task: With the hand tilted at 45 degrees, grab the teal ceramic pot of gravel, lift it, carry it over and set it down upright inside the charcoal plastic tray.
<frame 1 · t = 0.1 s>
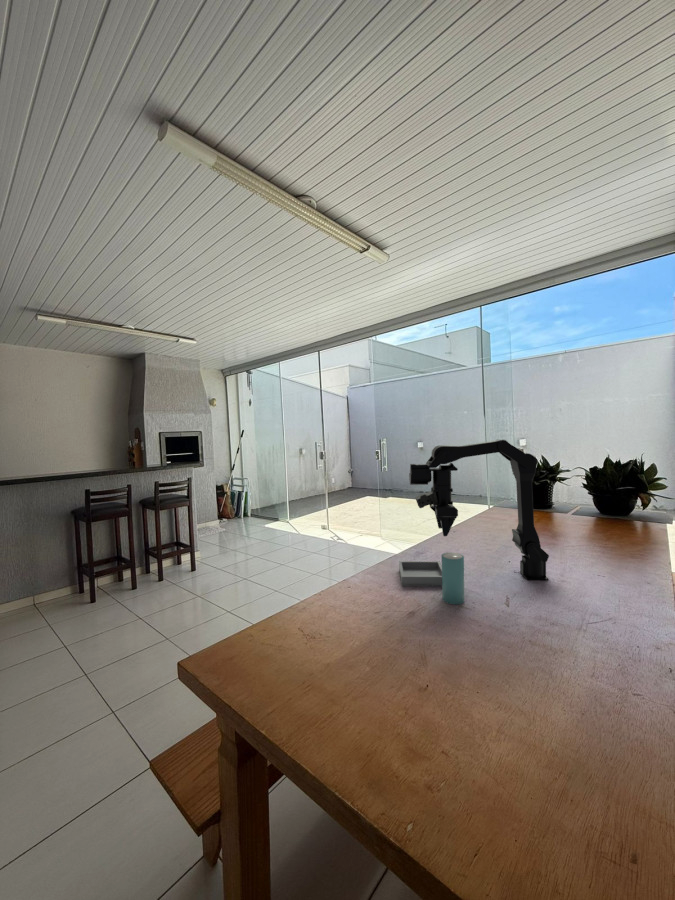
hand: (442, 532, 126), 14 cm above the table, tool pointing down, fingers open, 9 cm apart
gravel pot: (453, 599, 109), on the table
tray: (421, 577, 125), on the table
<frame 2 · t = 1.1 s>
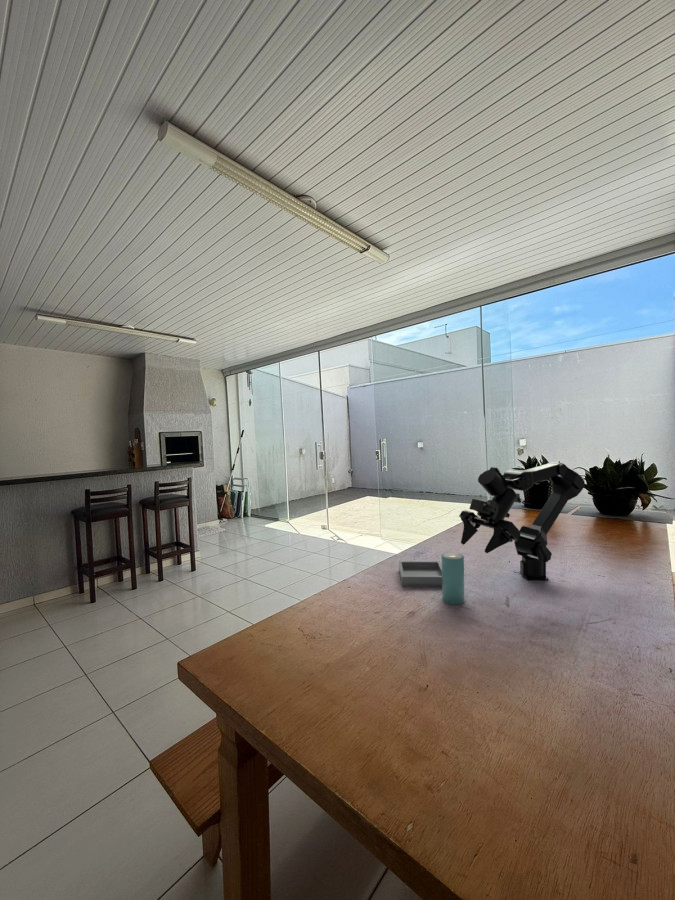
hand: (473, 547, 112), 13 cm above the table, tool tilted 45°, fingers open, 9 cm apart
nothing on the table moved.
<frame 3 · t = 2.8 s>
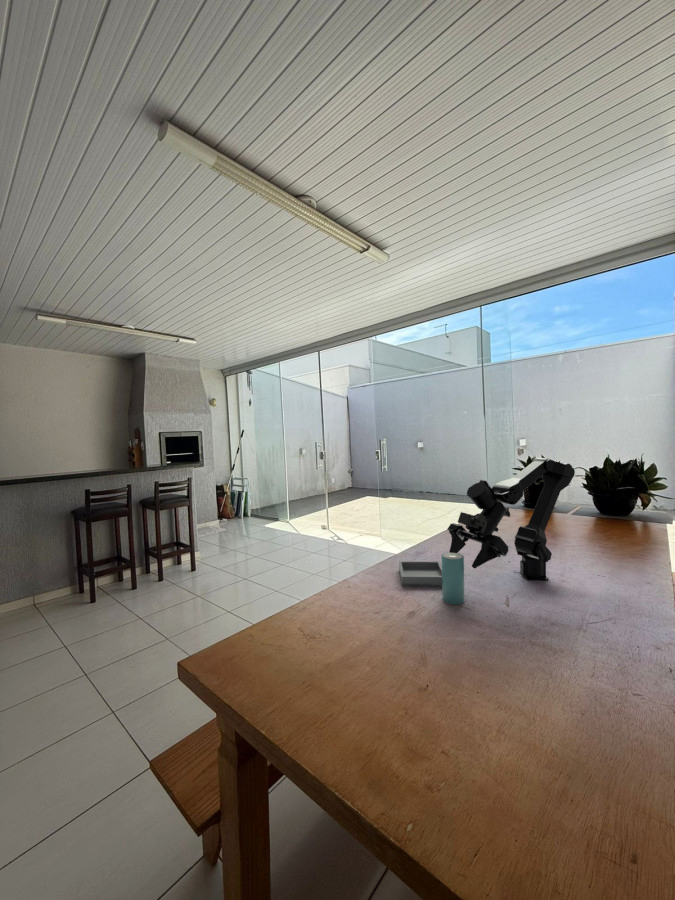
hand: (460, 562, 110), 10 cm above the table, tool tilted 45°, fingers open, 9 cm apart
nothing on the table moved.
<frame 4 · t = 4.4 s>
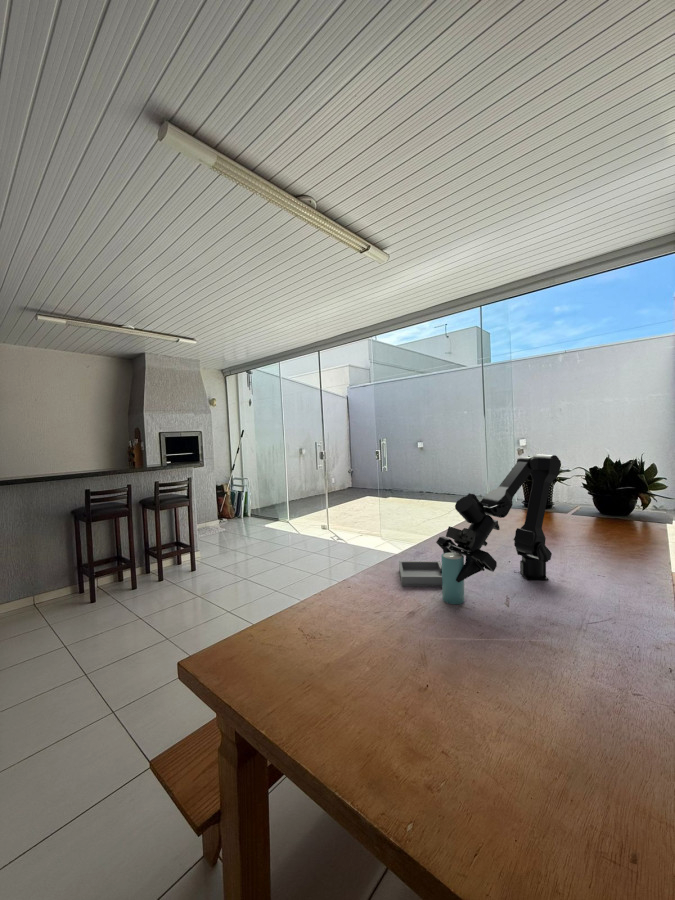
hand: (449, 577, 108), 7 cm above the table, tool tilted 45°, fingers closed on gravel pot, 6 cm apart
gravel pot: (453, 599, 109), on the table, touching gripper
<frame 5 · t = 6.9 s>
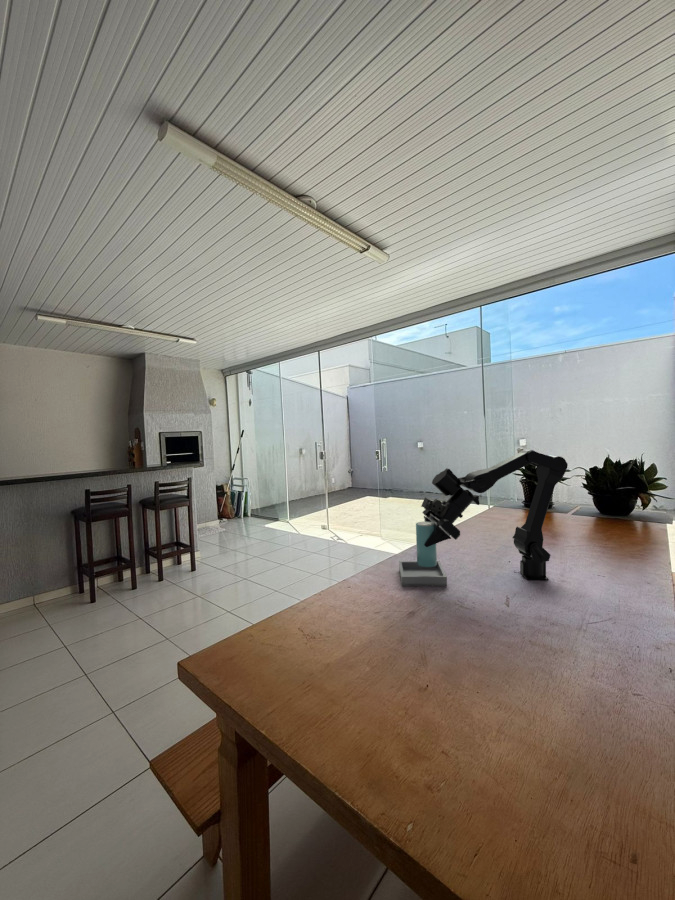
hand: (422, 542, 120), 13 cm above the table, tool tilted 45°, fingers closed on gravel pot, 6 cm apart
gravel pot: (426, 563, 120), point 6 cm above the table, touching gripper
when the fingers open (8 cm above the table, at t = 9.3 s): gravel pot stays where it is, resting on tray.
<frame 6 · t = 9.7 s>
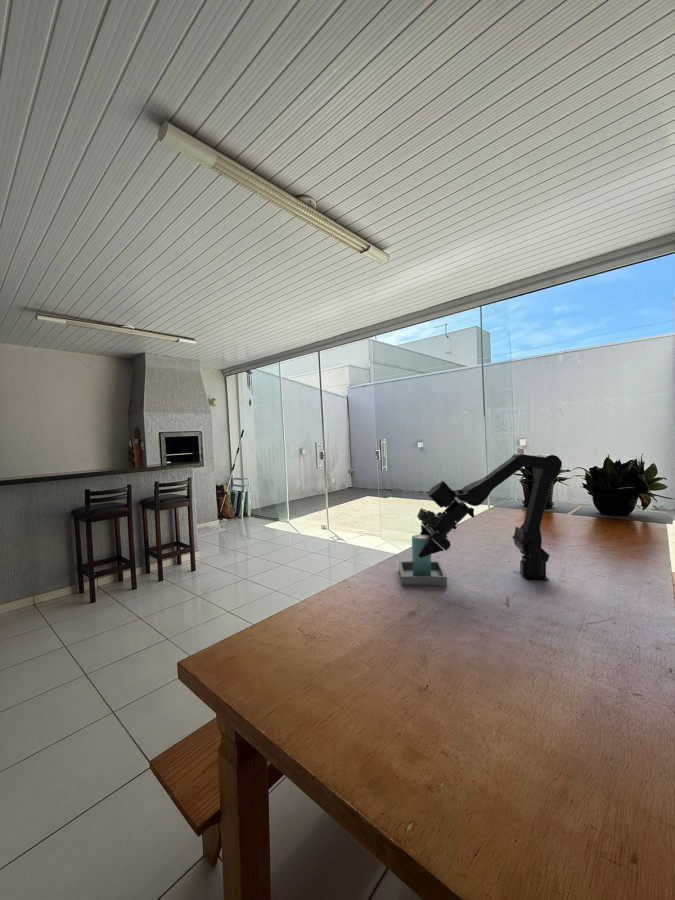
hand: (416, 551, 125), 9 cm above the table, tool tilted 45°, fingers open, 9 cm apart
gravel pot: (422, 575, 125), point 1 cm above the table, touching tray
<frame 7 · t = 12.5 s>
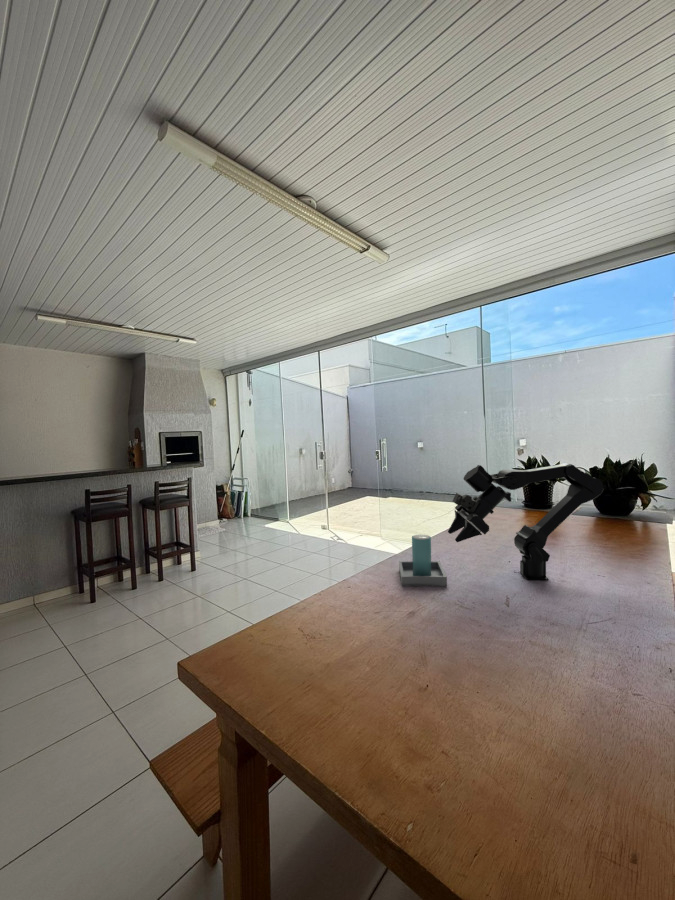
hand: (452, 536, 123), 13 cm above the table, tool tilted 45°, fingers open, 9 cm apart
nothing on the table moved.
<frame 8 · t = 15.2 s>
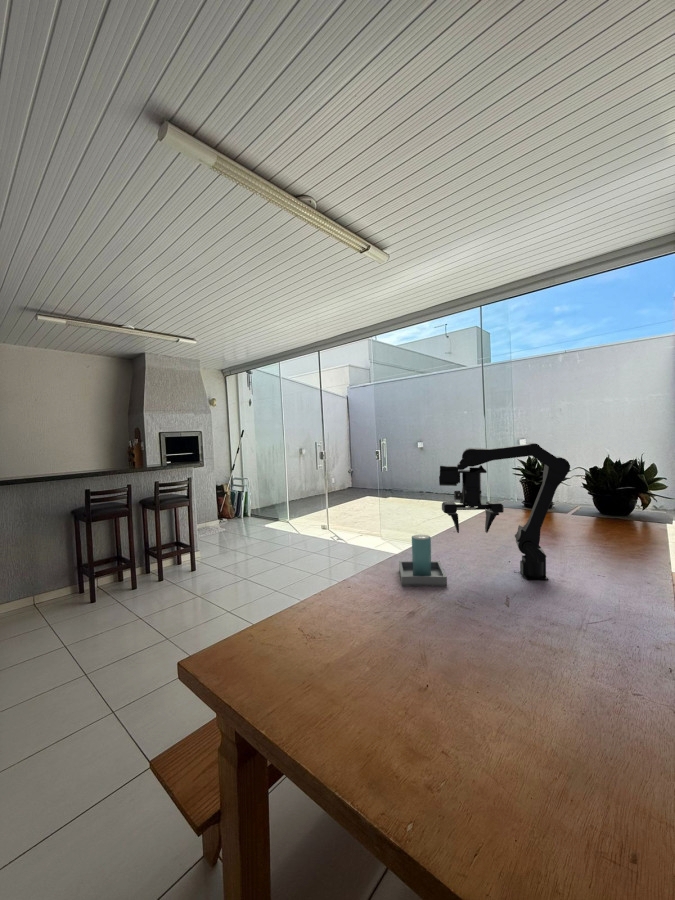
hand: (472, 532, 129), 13 cm above the table, tool pointing down, fingers open, 9 cm apart
nothing on the table moved.
at the end: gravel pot inside the target area on the tray (0.1 cm from its centre), point 0.8 cm above the tray's base; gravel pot tilted 0°; the gripper is holding nothing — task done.
